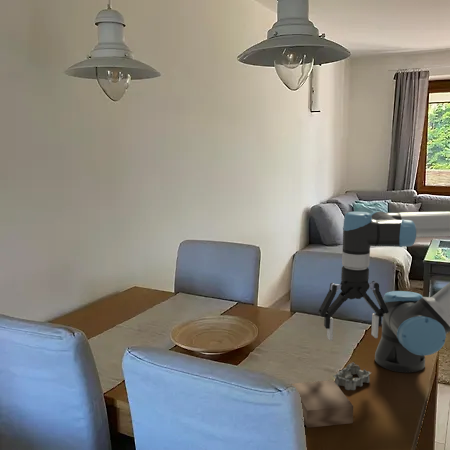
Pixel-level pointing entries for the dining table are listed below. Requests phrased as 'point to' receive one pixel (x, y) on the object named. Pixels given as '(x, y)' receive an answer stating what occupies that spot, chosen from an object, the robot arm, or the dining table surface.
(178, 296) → the dining table surface
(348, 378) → the egg carton
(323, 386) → the tan flat block
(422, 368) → the robot arm
